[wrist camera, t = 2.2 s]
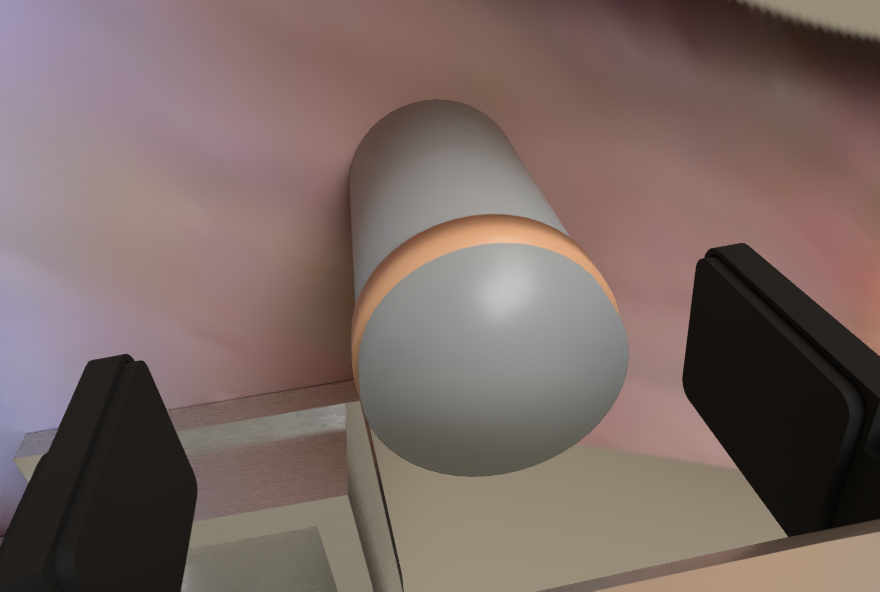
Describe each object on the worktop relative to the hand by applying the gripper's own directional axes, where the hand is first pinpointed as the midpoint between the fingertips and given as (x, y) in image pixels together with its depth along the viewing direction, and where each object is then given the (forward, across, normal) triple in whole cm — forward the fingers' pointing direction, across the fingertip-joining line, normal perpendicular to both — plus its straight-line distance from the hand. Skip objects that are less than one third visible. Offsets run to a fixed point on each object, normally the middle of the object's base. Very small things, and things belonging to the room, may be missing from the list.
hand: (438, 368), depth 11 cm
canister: (+7, -1, 0) cm, 7 cm away
